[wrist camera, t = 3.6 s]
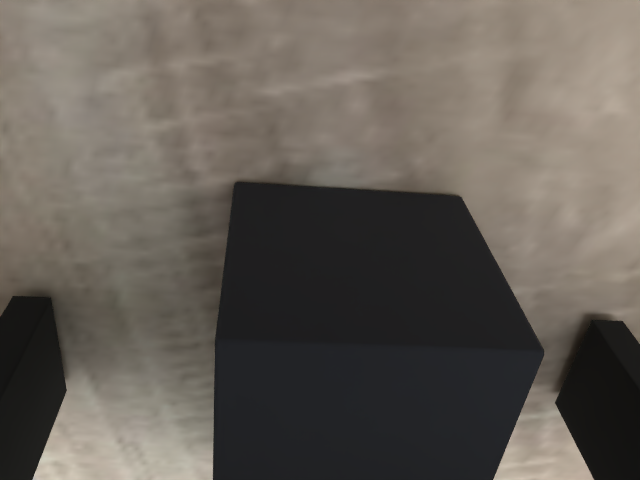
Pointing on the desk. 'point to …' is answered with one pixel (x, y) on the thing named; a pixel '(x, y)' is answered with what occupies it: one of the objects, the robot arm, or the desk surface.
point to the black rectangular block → (364, 339)
